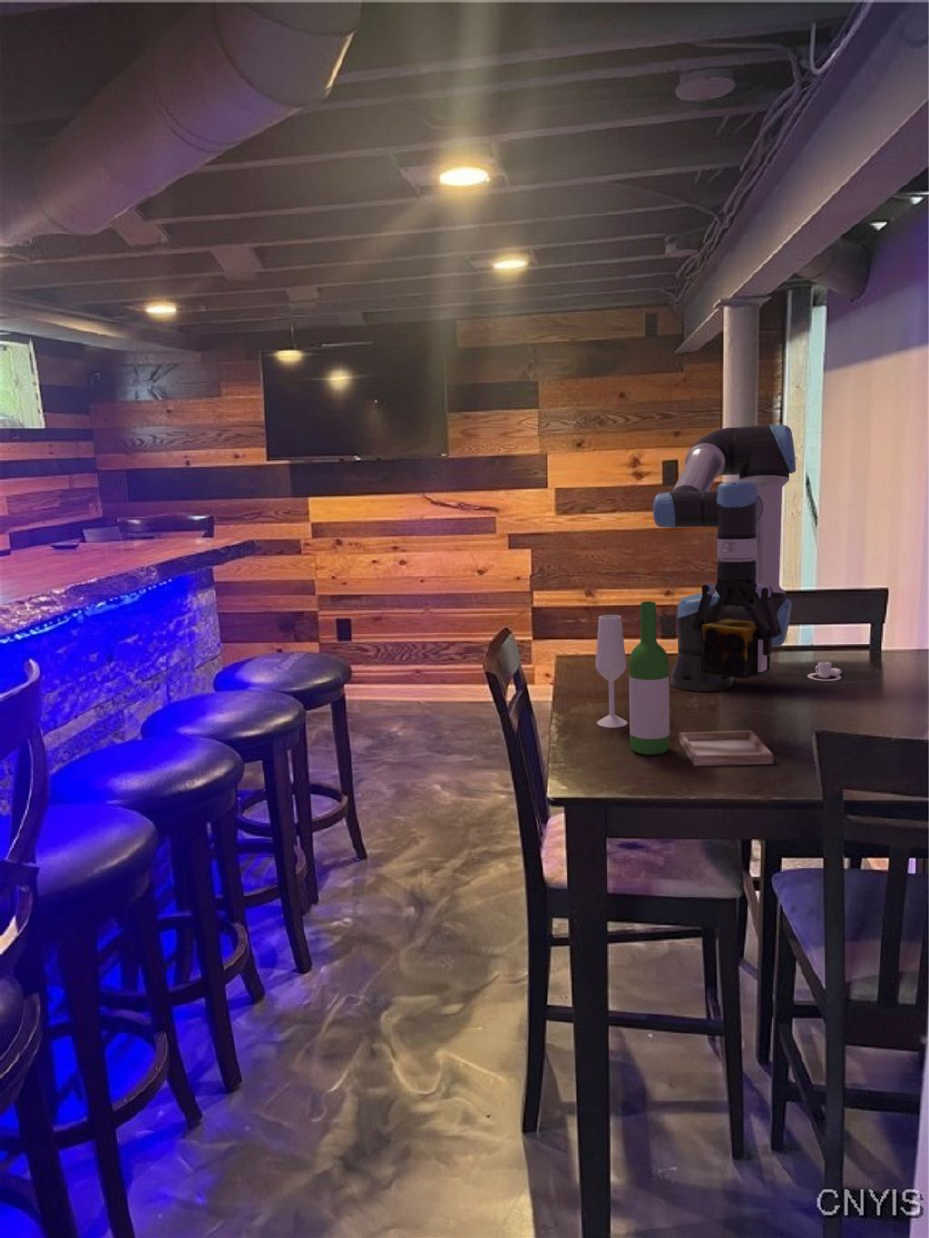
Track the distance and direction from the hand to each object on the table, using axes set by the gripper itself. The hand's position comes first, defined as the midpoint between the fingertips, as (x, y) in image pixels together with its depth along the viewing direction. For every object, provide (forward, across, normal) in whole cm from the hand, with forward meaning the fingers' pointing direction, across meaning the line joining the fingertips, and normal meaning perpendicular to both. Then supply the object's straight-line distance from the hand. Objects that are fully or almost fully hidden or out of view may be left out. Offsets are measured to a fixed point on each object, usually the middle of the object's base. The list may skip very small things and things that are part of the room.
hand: (735, 667), depth 173 cm
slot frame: (+15, +2, -10) cm, 18 cm away
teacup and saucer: (+14, +2, +57) cm, 59 cm away
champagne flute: (+15, -26, -6) cm, 30 cm away
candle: (+1, 0, 0) cm, 1 cm away
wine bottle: (+15, -10, -17) cm, 25 cm away
